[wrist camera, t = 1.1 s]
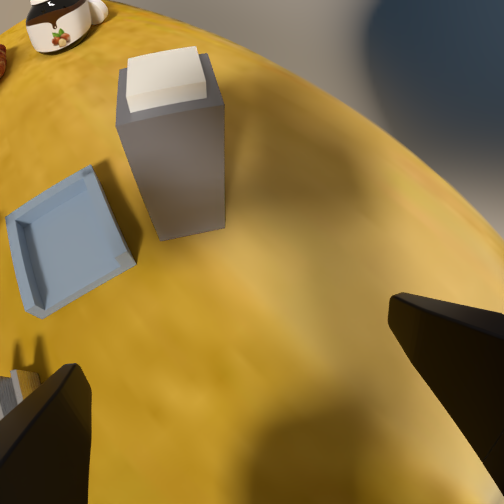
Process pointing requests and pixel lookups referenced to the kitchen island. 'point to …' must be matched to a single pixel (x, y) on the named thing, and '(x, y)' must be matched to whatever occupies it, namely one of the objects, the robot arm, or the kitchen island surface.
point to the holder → (65, 243)
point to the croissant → (2, 59)
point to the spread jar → (62, 23)
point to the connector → (174, 139)
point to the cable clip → (16, 389)
